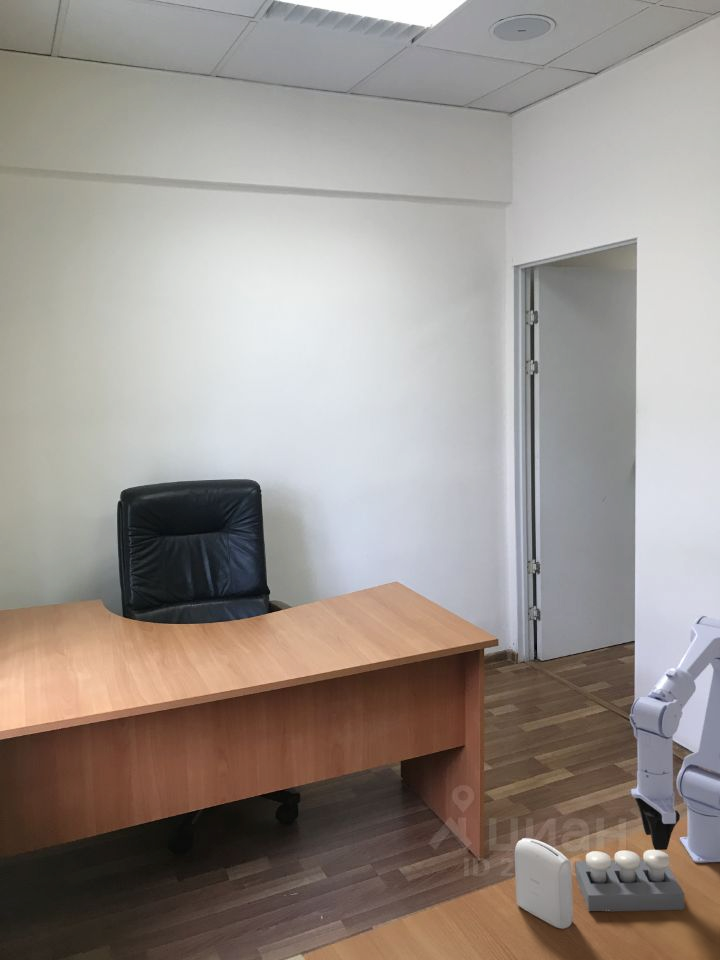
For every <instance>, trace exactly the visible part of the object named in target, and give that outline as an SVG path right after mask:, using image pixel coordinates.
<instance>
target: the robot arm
mask: <svg viewBox="0 0 720 960" xmlns="http://www.w3.org/2000/svg"><path fill="white" fill-rule="evenodd" d="M710 665H711V667H712V669H713V670H712V676H711V682H710V686H709V693H708V699H707V703H706V704H707V705H706V708H705V715H704V718H703V724H702V730H701V736H700V741H699V747H698V750H696V751H695V752H693V753H689V754H688V755H686V756H685V757H684V759H683V761H682V765H681V768H680V769H679V772H678V774H677V778H676V789H677V793H678V795H679V796H680V797H681V798H683V804H685V805H686V806H687V815H686V817H687V827H686V828H687V829H686V830H687V831H686V832H687V836H681V837H679V841H680V842H681V844H682V846H683V847H684V849H685V850H686V851H687V853H688V855H689V856H690V858H691V859H692V861H693V862H694V863H697V864H698V863H720V618H719V619H717V618H714V617H713V618H712V617H708V616H706V615H700V616H698V617H697V618H696V619H695V620H694V621H693V623H692V625H691V629H690V644H689V646H688V648H687V649H686V651H685V652H684V654H683V656H682V658H681V659H680V661H679V663H678V664H677V666H676V667H672V668H668V669H666V670H665V672H664V673H663V674H662V676H661V677H660V678H659V680H658V681H657V682H655V685H654V686H653V687H652V689H651V690H650V691H649V692H648V694H647V695H643V696H641V697H638V698H636V699H635V700H634V702H633V704H632V705H631V708H630V714H629V723H630V725H631V727H632V729H633V736H634V738H635V739H636V745H637V749H636V750H637V771H636V782H637V785H636V786H637V787H636V788H632V789H630V794H631V796H632V797H633V798H634V799H635V802H636V804H637V806H638V810H639V813H640V818H641V822H642V826H643V827H642V828H643V830H644V833H645V834H646V836H650V838H651V843H652V847H653V850H659V851H667V850H668V847H669V844H670V840H671V837H672V833H673V830H674V829H675V827H676V825H677V824H678V822H680V816H681V814H680V813H679V812H678V810H675V791H674V768H673V767H674V763H673V762H674V760H673V758H674V757H673V754H674V751H673V750H674V749H673V745H674V742H673V741H674V740H673V739H674V738H673V737H674V735H675V734H676V733H677V731H678V729H679V725H680V722H681V718H682V715H683V709H684V708H685V706H686V705H687V703H688V702H689V700H690V699H691V698H692V697H693V695H694V693H695V692H696V690H697V689H696V688H697V687H696V682H695V681H696V680H697V678H698V677H699V676H700V675H701V674H702V673H703V671H704V670H706V668H707V667H708V666H710Z"/></svg>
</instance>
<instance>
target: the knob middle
mask: <svg viewBox="0 0 720 960" xmlns="http://www.w3.org/2000/svg"><path fill="white" fill-rule="evenodd" d="M614 860H615V864H616V865H617V866H619V867H620V879H621V880H622V881H624V882H627V883H631V882H634V881H635V869H637V868H638V867H639V866H640V860H641V858H640V856H639V854H638V853H636V852H634V851H631V850H625V849H624V850H618V851H617V852H615V854H614Z"/></svg>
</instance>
